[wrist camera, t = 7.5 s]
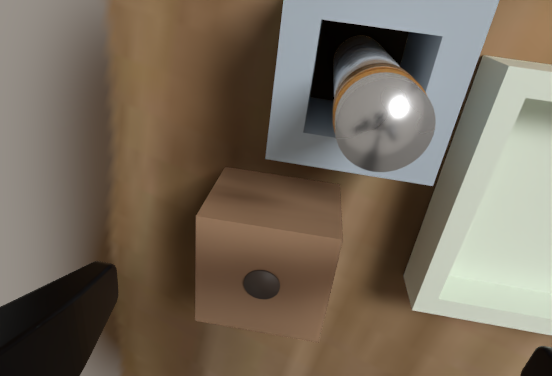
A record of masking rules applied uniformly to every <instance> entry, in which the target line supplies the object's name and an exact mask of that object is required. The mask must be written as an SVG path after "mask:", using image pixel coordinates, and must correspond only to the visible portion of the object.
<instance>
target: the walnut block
mask: <svg viewBox="0 0 552 376" xmlns="http://www.w3.org/2000/svg"><path fill="white" fill-rule="evenodd" d="M342 242H343V231H342V212H341V192H340V184H334V183H328V182H321V181H315V180H308V179H302V178H295V177H289V176H282V175H276V174H269V173H263V172H256V171H250V170H243V169H237V168H230V167H225V168H224V169H223V171H222V173H221V175H220V176H219V178H218V180H217V181H216V183H215V185H214V186H213V188H212V190H211V191H210V193H209V195H208V196H207V198H206V200H205V202H204V203H203V205H202V207H201V208H200V210H199V212H198V213H197V215H196V269H195V321H200V322H206V323H211V324H217V325H222V326H228V327H234V328H239V329H245V330H250V331H256V332H262V333H267V334H273V335H278V336H284V337H289V338H295V339H301V340H306V341H312V342H317V343H319V340H320V336H321V331H322V327H323V323H324V319H325V314H326V310H327V306H328V301H329V297H330V293H331V289H332V284H333V280H334V276H335V272H336V267H337V263H338V259H339V255H340V250H341V246H342Z"/></svg>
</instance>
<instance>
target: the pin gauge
mask: <svg viewBox="0 0 552 376" xmlns="http://www.w3.org/2000/svg"><path fill="white" fill-rule="evenodd" d="M333 79H334V100H333V128H334V132H335V135H336V140H337V144H338V146H339V148H340V150H341V152H342V153H343V155H344V156H345V157H346V158H347V159H348V160H349V161H350V162H351V163H353V164H354V165H356V166H358V167H360V168H362V169H365V170H368V171H372V172H389V171H394V170H398V169H401V168H403V167H405V166H407V165H409V164H411V163H412V162H414V161H415V160H416V159H418V158H419V157H420V156H421V155H422V154H423V153H424V151H425V150H426V149H427V147H428V146H429V144H430V142H431V140H432V138H433V135H434V131H435V124H436V119H435V112H434V108H433V105H432V103H431V101H430V99H429V98H428V96H427V94H426V92H425V90H424V89H423V88H422V86H421V85H420V84H419V83H418V82H417V81H416V80H415V79H414V78H413V77H412V76H411V75H410V74H409V73H408V72H407V71H406V70H404V69H403V68H401V67H400V66H399V65H398V64H397V63H396V61H395V60H394V59H393V58H392V57H391V56H390V55H389V54H388V53H387V52H386V51H385V50H384V48H383V47H382V46H381V45H380V44H379V43H378V42H377V41H376V40H374V39H373V38H371V37H368V36H364V35H358V36H353V37H350V38H348V39H347V40H345V41H344V42H343V43H342V44H341V45H340V46H339V47H338V49H337V50H336V52H335V55H334V59H333Z"/></svg>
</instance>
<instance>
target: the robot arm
mask: <svg viewBox="0 0 552 376" xmlns="http://www.w3.org/2000/svg"><path fill="white" fill-rule="evenodd" d="M117 298H118V282H117V270H116V267H115V265H113V264H111V263H106V262H100V261H95V262H93V263H90V264H88V265H86V266H84V267H82V268H80V269H78V270H76V271H74V272H72V273H70V274H68V275H65V276H63V277H61V278H59V279H57V280H55V281H53V282H51V283H49V284H47V285H45V286H43V287H41V288H38V289H36V290H34V291H32V292H30V293H28V294H26V295H24V296H22V297H20V298H18V299H16V300H14V301H12V302H10V303H7V304H6V305H3V306H1V307H0V376H80V374H81V372H82V370H83V369H84V367H85V365H86V363H87V361H88V359H89V357H90V355H91V353H92V351H93V349H94V347H95V345H96V343H97V341H98V339H99V337H100V335H101V333H102V331H103V328H104V327H105V325H106V323H107V321H108V319H109V316H110V314H111V312H112V310H113V308H114V306H115V304H116V302H117ZM521 376H552V348H551V347H546V346H540V347H538V348H536V350H535V351H534V353H533V354H532V356H531V357H530V359H529V360H528V362H527V363H526V365H525V367H524V368H523V370H522V372H521Z"/></svg>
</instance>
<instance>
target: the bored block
mask: <svg viewBox="0 0 552 376" xmlns="http://www.w3.org/2000/svg"><path fill="white" fill-rule="evenodd" d="M498 2H499V0H283V9H282V18H281V26H280V35H279V44H278V53H277V61H276V70H275V79H274V87H273V96H272V105H271V114H270V122H269V131H268V140H267V149H266V157H265V159H269V160H275V161H281V162H287V163H293V164H299V165H306V166H312V167H318V168H324V169H330V170H337V171H343V172H349V173H355V174H361V175H367V176H374V177H380V178H386V179H392V180H398V181H404V182H411V183H417V184H423V185H429V186H433V184H434V182H435V179H436V176H437V173H438V170H439V168H440V165H441V162H442V159H443V156H444V154H445V151H446V148H447V145H448V142H449V140H450V137H451V134H452V131H453V128H454V126H455V123H456V120H457V117H458V114H459V112H460V109H461V106H462V103H463V100H464V98H465V95H466V92H467V89H468V86H469V84H470V81H471V78H472V75H473V72H474V70H475V67H476V64H477V61H478V58H479V56H480V53H481V50H482V47H483V44H484V42H485V39H486V36H487V33H488V30H489V28H490V25H491V22H492V19H493V16H494V14H495V11H496V8H497V5H498ZM323 20H329V21H336V22H343V23H350V24H357V25H365V26H372V27H379V28H386V29H393V30H401V31H408V32H409V33H408V37H407V41H406V45H405V48H404V52H403V56H402V60H401V64H400V67H401V68H403V69H404V70H406V71H407V72H408V73H409V74H410V75H411V76H412V77H413V78H414V79H415V80H416V81H417V82H418V83H419V84H420V85H421V86H422V88H423V89H424V90H425V92H426V94H427V96H428V98H429V99H430V101H431V103H432V105H433V108H434V112H435V119H436V124H435V131H434V135H433V138H432V140H431V142H430V144H429V146H428V147H427V149H426V150H425V151H424V153H423V154H422V155H421V156H420V157H419V158H418V159H416V160H415V161H414V162H412V163H411V164H409V165H407V166H405V167H403V168H401V169H398V170H394V171H389V172H372V171H368V170H365V169H362V168H360V167H358V166H356V165H354V164H353V163H351V162H350V161H349V160H348V159H347V158H346V157H345V156H344V155H343V153H342V152H341V150H340V148H339V146H338V144H337V140H336V135H335V132H334V128H333V100H326V99H320V98H313V97H310V95H311V89H312V83H313V77H314V70H315V64H316V58H317V52H318V46H319V40H320V33H321V27H322V21H323Z"/></svg>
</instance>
